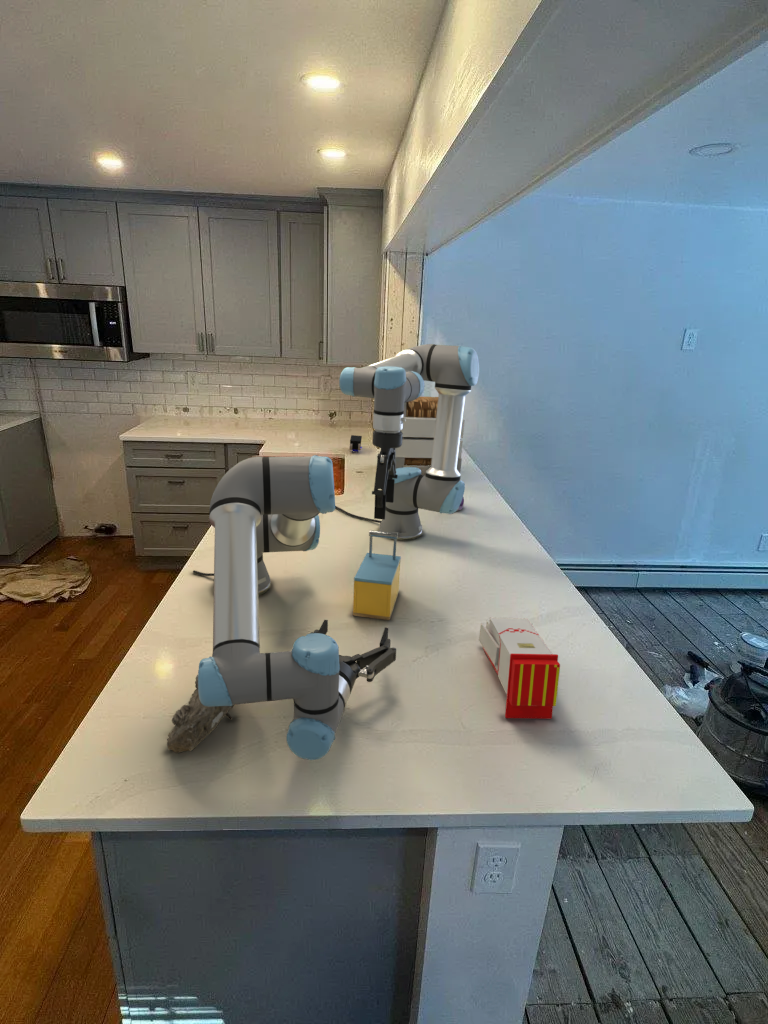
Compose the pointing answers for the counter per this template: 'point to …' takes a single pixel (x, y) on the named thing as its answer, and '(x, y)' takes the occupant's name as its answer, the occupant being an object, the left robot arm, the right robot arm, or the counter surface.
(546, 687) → the toy
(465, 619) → the counter surface
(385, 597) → the chest
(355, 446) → the figurine character
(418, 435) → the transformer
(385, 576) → the lid
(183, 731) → the fossil
